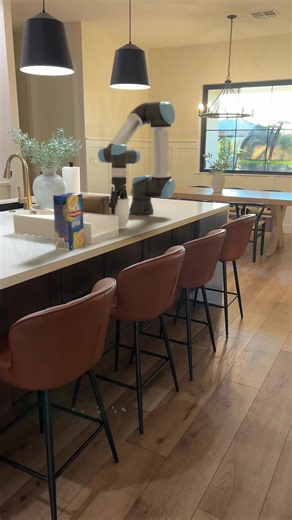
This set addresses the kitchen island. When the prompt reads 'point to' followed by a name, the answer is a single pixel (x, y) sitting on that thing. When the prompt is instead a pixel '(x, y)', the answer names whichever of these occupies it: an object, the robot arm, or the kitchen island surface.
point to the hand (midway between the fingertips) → (119, 218)
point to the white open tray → (44, 226)
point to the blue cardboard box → (68, 221)
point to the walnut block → (96, 204)
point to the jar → (122, 212)
